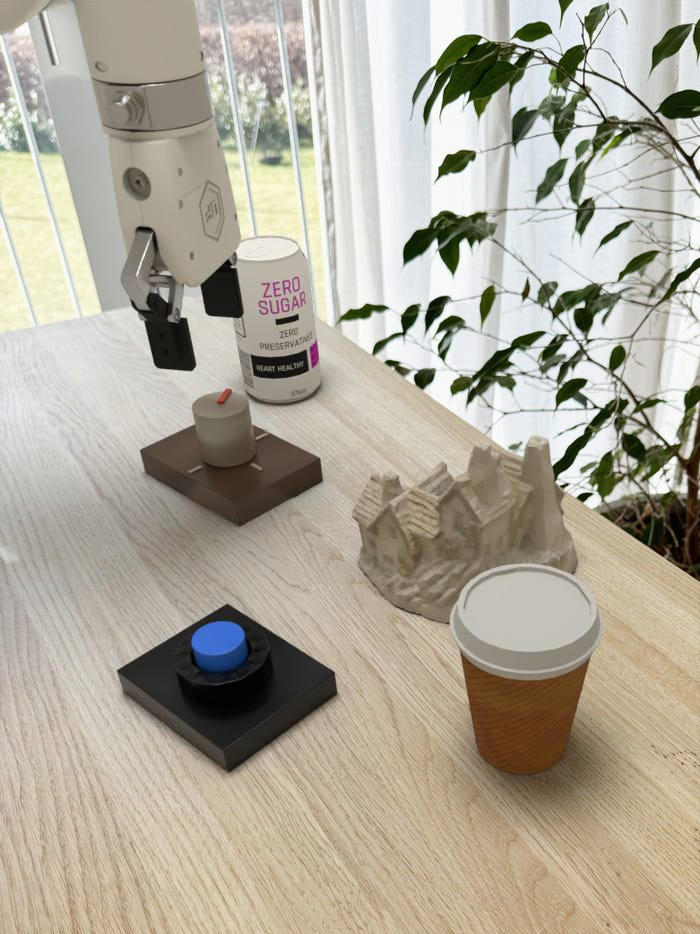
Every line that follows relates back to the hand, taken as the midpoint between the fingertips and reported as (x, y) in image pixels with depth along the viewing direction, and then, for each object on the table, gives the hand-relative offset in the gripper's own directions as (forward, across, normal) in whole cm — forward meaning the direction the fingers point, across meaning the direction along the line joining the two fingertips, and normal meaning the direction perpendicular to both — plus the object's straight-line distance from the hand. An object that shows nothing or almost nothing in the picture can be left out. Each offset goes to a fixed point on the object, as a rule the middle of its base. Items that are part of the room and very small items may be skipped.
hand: (201, 340), depth 80 cm
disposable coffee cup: (+17, -23, -30) cm, 41 cm away
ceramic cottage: (+17, -4, -22) cm, 28 cm away
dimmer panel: (+16, +6, +2) cm, 17 cm away
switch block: (+16, -22, -8) cm, 29 cm away
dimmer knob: (+14, +6, +2) cm, 15 cm away
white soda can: (+16, +24, +4) cm, 29 cm away
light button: (+13, -22, -8) cm, 27 cm away
